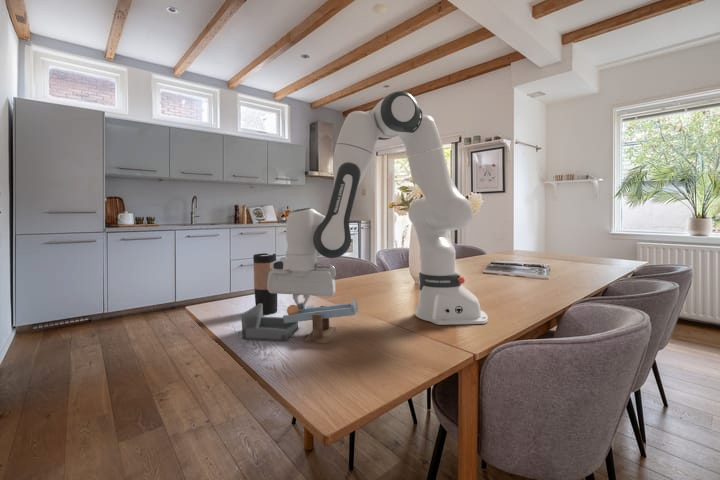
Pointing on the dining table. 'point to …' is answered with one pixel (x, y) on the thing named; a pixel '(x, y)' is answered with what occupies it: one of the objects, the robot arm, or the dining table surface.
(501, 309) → the dining table surface
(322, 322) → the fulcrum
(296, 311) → the ball
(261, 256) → the travel mug
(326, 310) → the lever
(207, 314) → the dining table surface
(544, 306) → the dining table surface
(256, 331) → the tray
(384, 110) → the robot arm
